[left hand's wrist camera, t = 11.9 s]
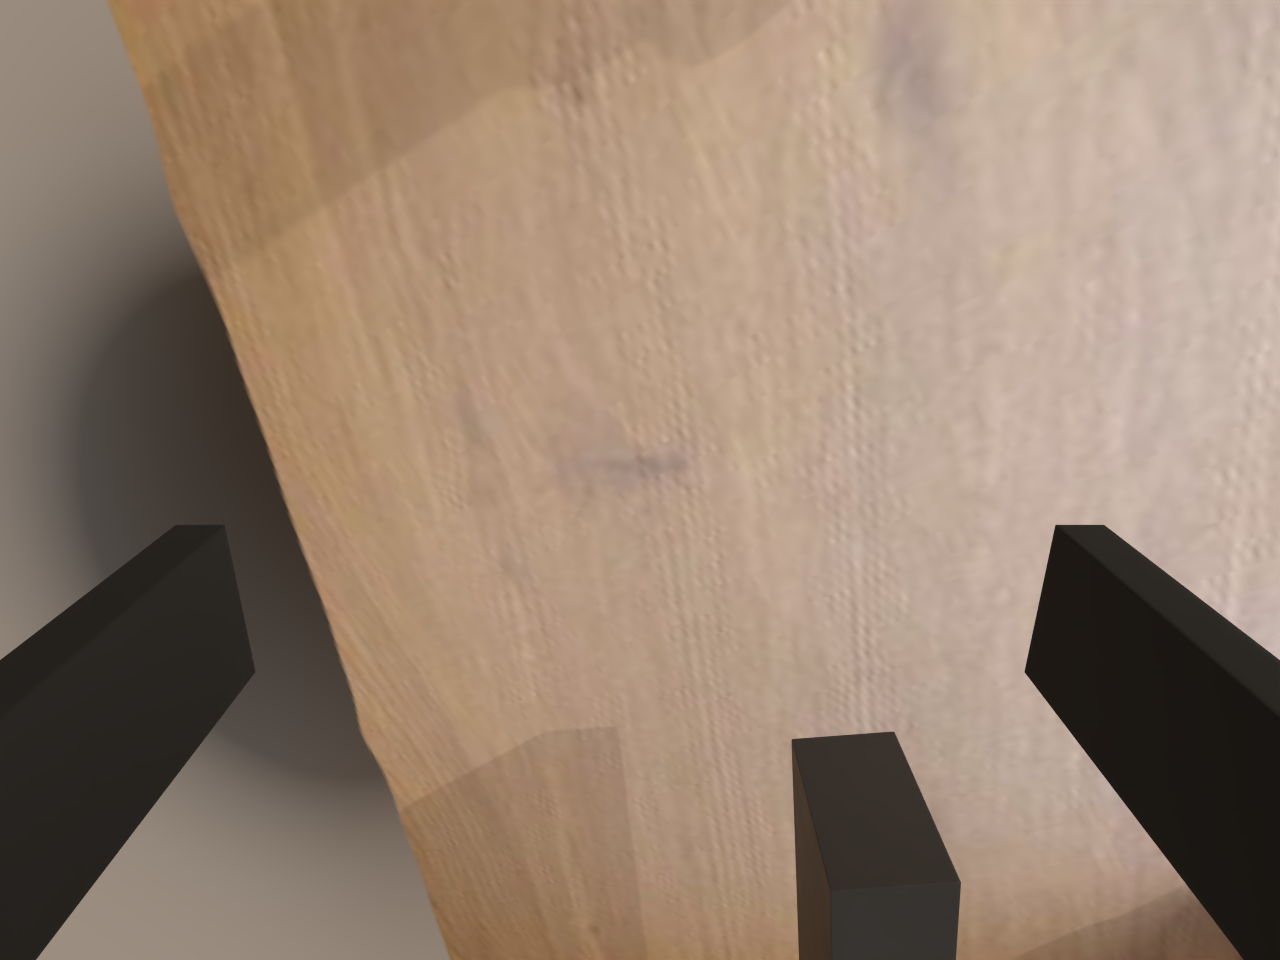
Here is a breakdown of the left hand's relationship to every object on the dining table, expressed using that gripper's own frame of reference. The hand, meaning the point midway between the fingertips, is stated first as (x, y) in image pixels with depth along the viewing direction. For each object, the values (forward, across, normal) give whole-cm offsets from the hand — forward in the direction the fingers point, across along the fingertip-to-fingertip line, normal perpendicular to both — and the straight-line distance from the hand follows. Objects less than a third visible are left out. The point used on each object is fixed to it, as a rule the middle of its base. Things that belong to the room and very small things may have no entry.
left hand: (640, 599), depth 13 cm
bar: (+19, +11, -31) cm, 38 cm away
